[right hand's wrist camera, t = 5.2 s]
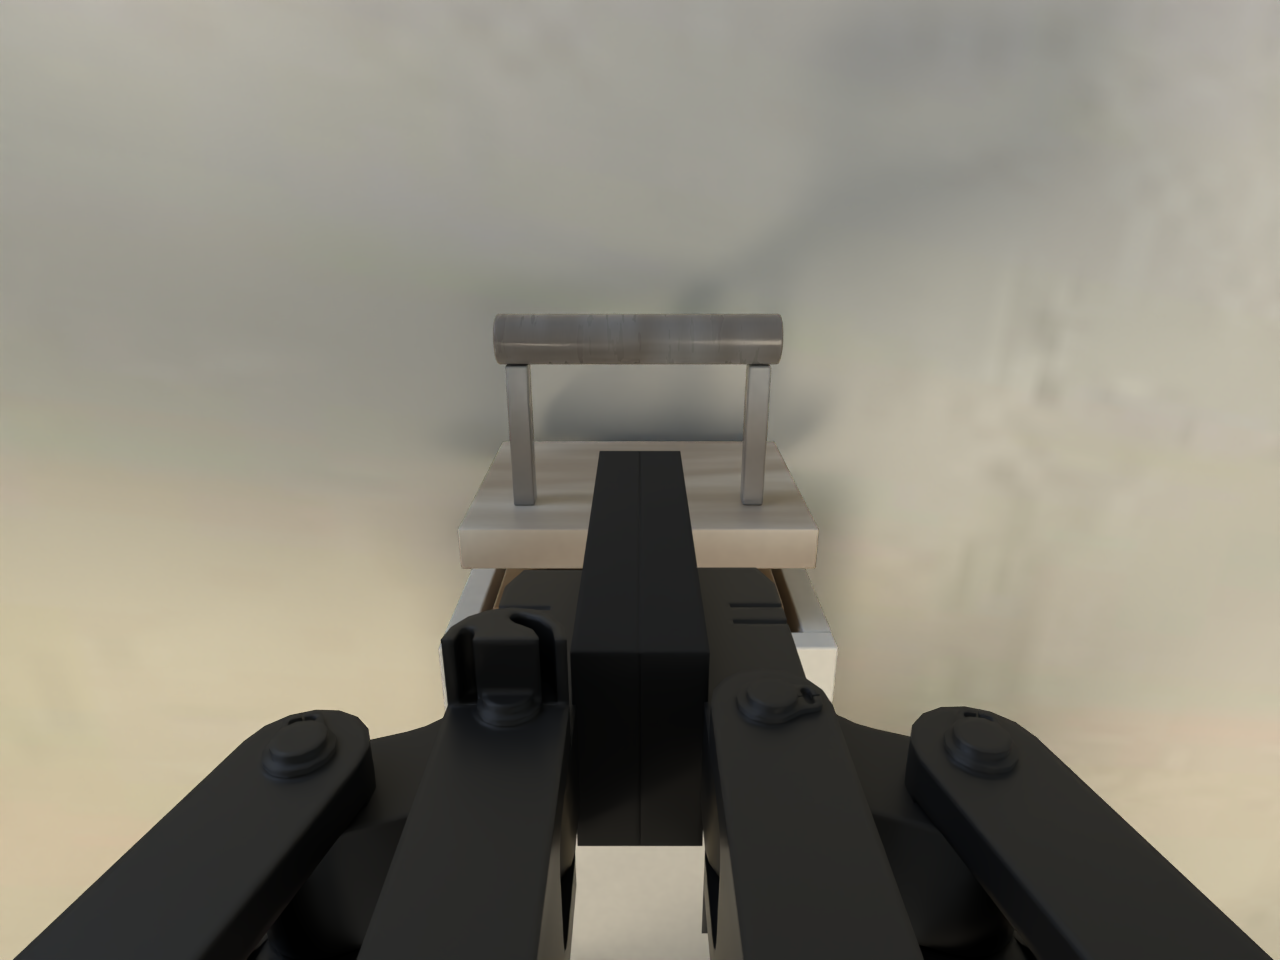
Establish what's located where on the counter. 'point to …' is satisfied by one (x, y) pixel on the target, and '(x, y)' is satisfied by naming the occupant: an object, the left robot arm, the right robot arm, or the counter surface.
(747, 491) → the drawer
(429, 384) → the counter surface
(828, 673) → the cabinet
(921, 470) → the counter surface
